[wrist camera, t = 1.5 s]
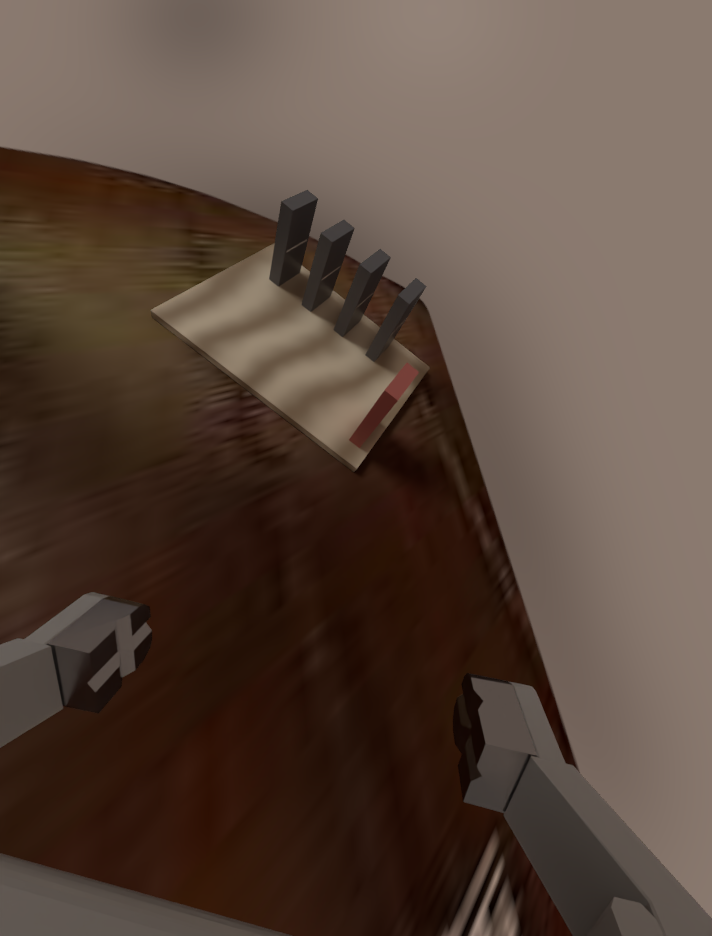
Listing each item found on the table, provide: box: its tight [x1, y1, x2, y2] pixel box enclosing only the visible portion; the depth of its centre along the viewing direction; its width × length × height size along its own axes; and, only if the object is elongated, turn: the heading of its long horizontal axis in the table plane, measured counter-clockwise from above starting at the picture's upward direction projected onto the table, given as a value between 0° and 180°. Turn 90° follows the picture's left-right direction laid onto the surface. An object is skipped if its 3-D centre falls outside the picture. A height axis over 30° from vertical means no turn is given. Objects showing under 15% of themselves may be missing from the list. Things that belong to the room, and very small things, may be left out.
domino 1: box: [269, 190, 318, 287], centre depth 43 cm, size 2×5×10 cm, turn 148°
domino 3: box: [334, 249, 390, 337], centre depth 44 cm, size 2×5×10 cm, turn 148°
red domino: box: [349, 363, 419, 448], centre depth 38 cm, size 2×5×10 cm, turn 148°
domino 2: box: [301, 220, 354, 312], centre depth 44 cm, size 2×5×10 cm, turn 148°
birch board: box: [151, 244, 430, 472], centre depth 45 cm, size 29×22×1 cm
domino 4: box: [365, 279, 426, 362], centre depth 44 cm, size 2×5×10 cm, turn 148°
